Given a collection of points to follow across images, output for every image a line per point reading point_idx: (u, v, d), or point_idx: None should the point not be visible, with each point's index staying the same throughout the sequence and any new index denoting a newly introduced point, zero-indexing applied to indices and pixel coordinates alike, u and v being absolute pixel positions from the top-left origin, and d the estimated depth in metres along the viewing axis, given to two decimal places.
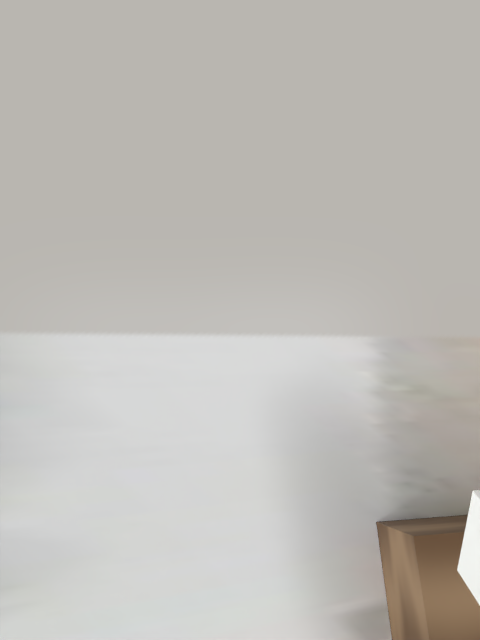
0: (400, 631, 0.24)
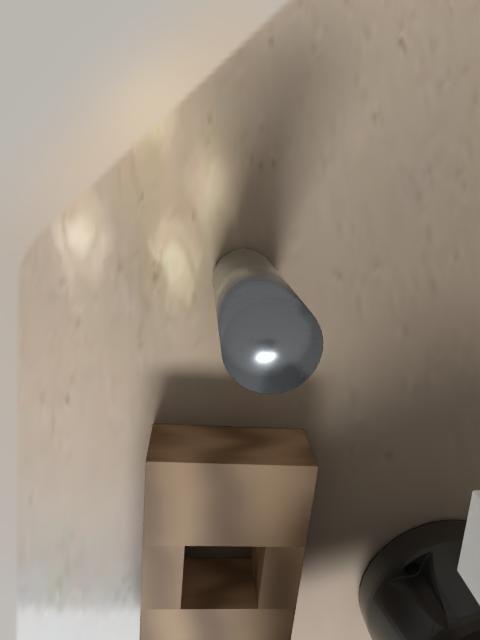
0: None
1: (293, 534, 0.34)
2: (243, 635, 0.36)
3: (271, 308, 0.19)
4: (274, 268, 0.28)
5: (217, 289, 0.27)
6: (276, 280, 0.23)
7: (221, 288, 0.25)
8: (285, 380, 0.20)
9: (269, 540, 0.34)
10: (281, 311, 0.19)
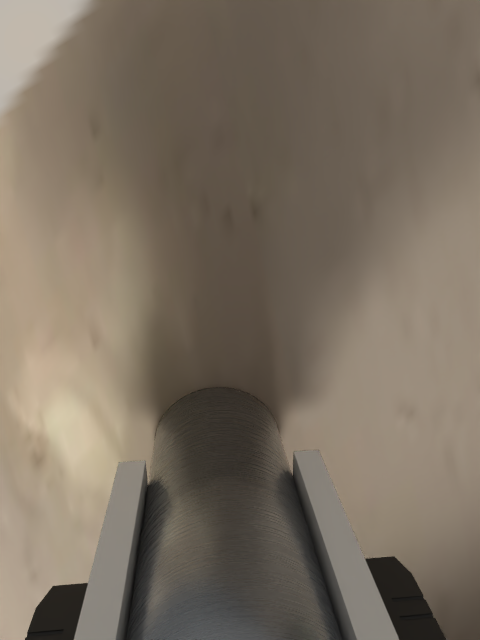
0: None
1: None
2: None
3: None
4: (278, 480, 0.12)
5: None
6: None
7: None
8: None
9: None
10: None
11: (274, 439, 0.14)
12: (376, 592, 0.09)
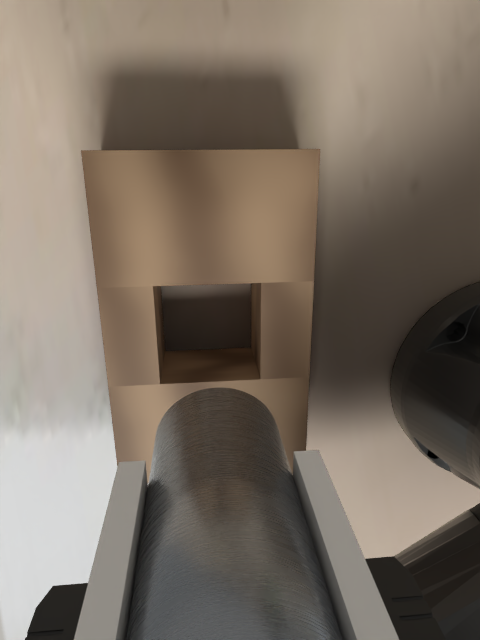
0: None
1: (296, 262, 0.25)
2: None
3: None
4: (278, 480, 0.12)
5: None
6: None
7: None
8: None
9: (264, 272, 0.25)
10: None
11: (274, 439, 0.14)
12: (376, 592, 0.09)
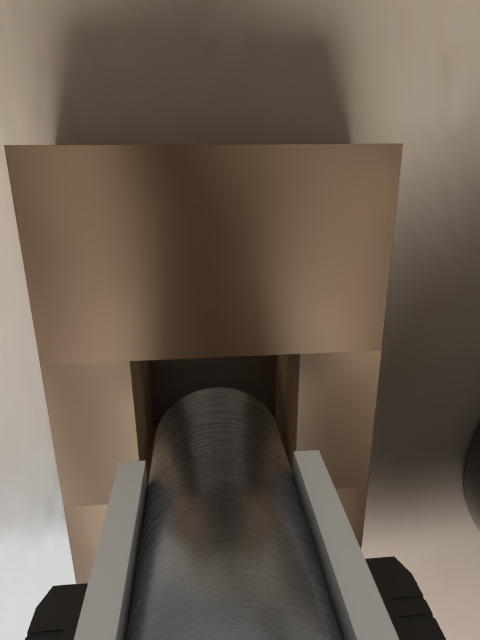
0: None
1: (356, 322, 0.16)
2: None
3: None
4: (278, 480, 0.12)
5: (132, 592, 0.10)
6: None
7: None
8: None
9: (306, 338, 0.16)
10: None
11: (274, 439, 0.14)
12: (376, 593, 0.09)
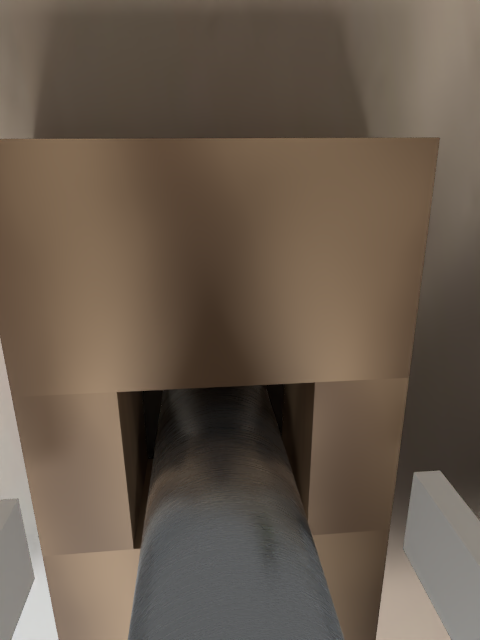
0: None
1: (380, 346, 0.14)
2: None
3: None
4: (261, 410, 0.15)
5: None
6: (258, 540, 0.09)
7: (149, 507, 0.12)
8: None
9: (322, 365, 0.14)
10: None
11: (260, 386, 0.17)
12: None
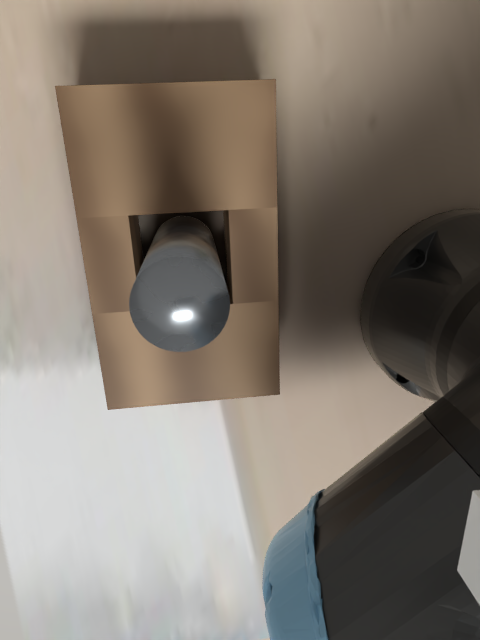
0: None
1: (260, 189, 0.27)
2: (221, 343, 0.31)
3: (171, 268, 0.19)
4: (203, 231, 0.29)
5: None
6: (189, 241, 0.23)
7: None
8: (200, 336, 0.21)
9: (231, 200, 0.28)
10: (181, 270, 0.20)
11: (207, 230, 0.31)
12: None
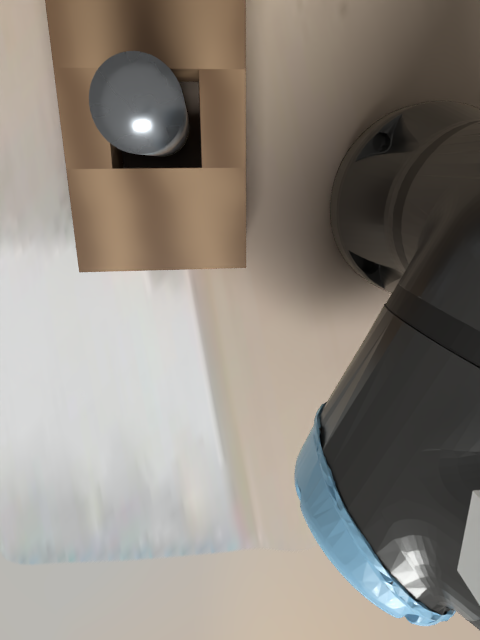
0: None
1: (229, 49, 0.29)
2: (190, 208, 0.32)
3: (128, 63, 0.21)
4: None
5: None
6: None
7: None
8: (155, 139, 0.22)
9: (201, 58, 0.29)
10: (138, 65, 0.21)
11: None
12: None
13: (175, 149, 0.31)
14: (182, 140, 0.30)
